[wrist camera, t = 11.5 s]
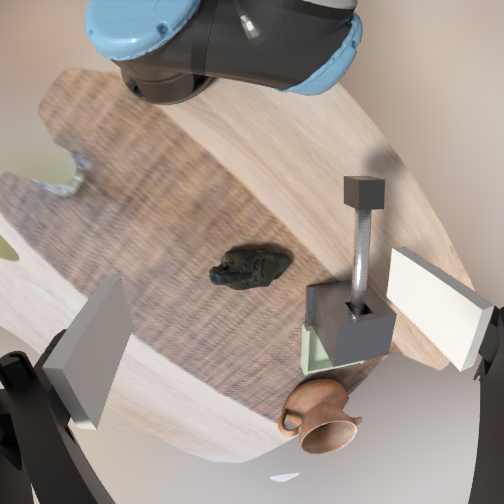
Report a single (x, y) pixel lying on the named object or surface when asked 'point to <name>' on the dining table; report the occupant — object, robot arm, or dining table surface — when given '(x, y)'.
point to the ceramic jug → (319, 417)
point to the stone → (248, 269)
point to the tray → (314, 353)
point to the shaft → (362, 230)
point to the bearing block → (349, 323)
